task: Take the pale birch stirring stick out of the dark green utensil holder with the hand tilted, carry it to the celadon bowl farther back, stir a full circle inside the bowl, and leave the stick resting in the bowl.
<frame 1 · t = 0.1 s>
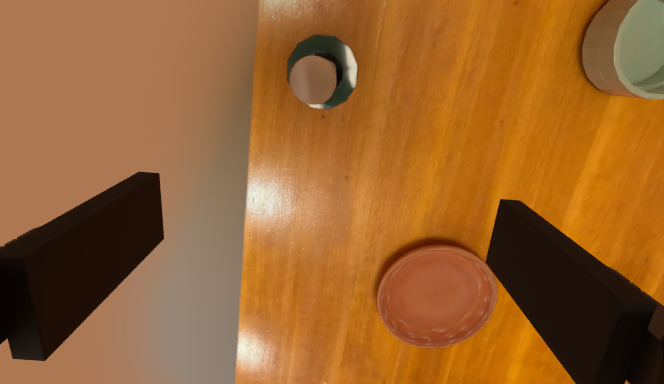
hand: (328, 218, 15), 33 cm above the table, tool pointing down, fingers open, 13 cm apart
saucer: (431, 287, 54), on the table
bowl: (628, 43, 43), on the table
stick: (324, 71, 44), point 1 cm above the table, touching holder
holder: (324, 71, 44), on the table
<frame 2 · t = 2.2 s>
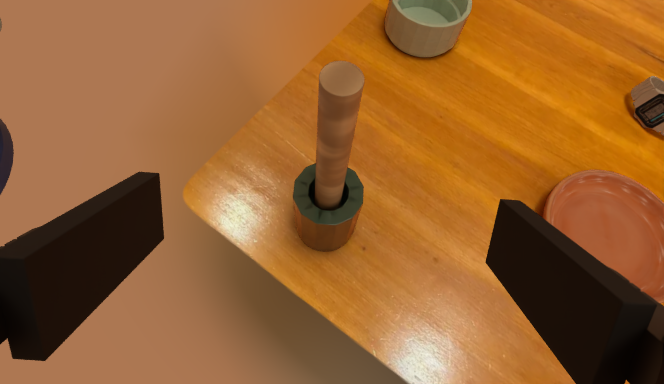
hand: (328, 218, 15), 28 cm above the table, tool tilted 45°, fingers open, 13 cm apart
saucer: (598, 240, 45), on the table
bowl: (420, 32, 58), on the table
wristwatch: (652, 116, 54), on the table
stick: (325, 222, 44), point 1 cm above the table, touching holder
holder: (324, 224, 44), on the table
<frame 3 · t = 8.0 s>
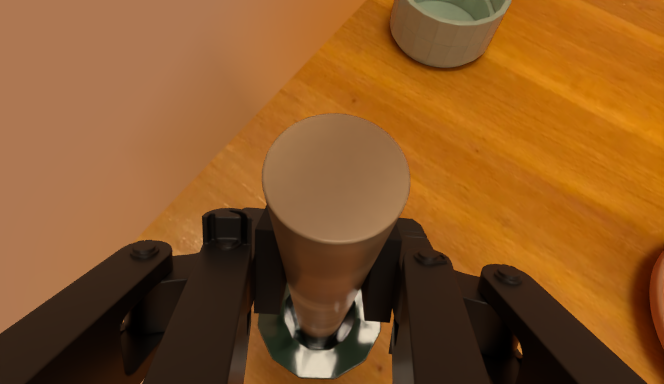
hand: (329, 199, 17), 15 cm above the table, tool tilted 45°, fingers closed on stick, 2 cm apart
bowl: (437, 34, 43), on the table
stick: (318, 328, 28), point 1 cm above the table, touching gripper
holder: (318, 329, 29), on the table
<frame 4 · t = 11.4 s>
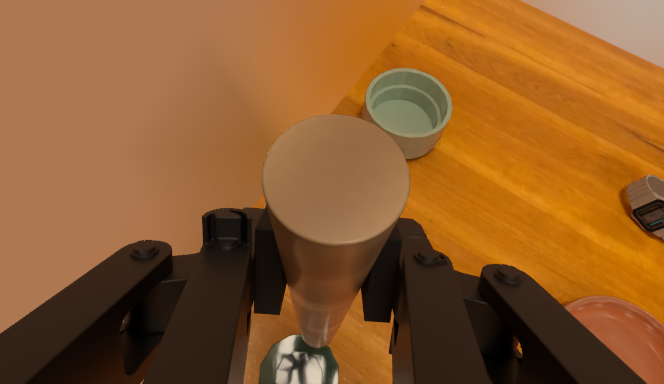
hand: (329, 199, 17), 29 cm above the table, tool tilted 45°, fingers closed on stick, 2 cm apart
saucer: (602, 375, 41), on the table
bowl: (399, 128, 54), on the table
wristwatch: (650, 214, 50), on the table
stick: (317, 329, 28), point 15 cm above the table, touching gripper
holder: (301, 376, 40), on the table
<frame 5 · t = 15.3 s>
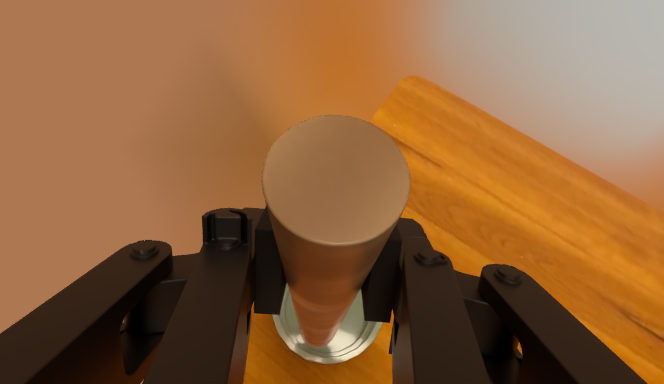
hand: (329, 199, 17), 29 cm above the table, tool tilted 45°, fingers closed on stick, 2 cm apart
bowl: (326, 310, 43), on the table
stick: (317, 329, 28), point 15 cm above the table, touching gripper
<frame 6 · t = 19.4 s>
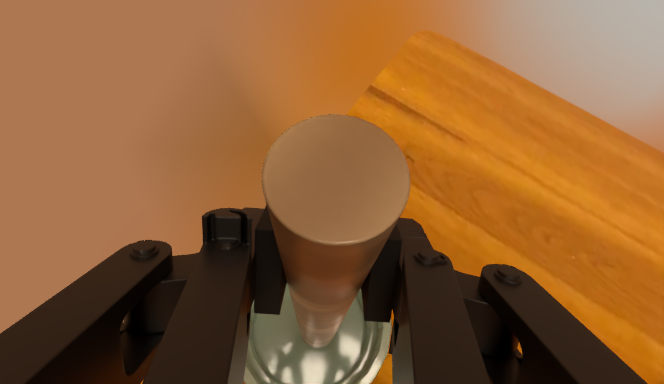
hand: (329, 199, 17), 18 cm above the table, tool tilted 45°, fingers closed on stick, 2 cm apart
bowl: (310, 328, 31), on the table
stick: (317, 329, 28), point 3 cm above the table, touching gripper
when the fingers open (15 cm above the table, at t = 22.6 s): stick stays where it is, resting on bowl.
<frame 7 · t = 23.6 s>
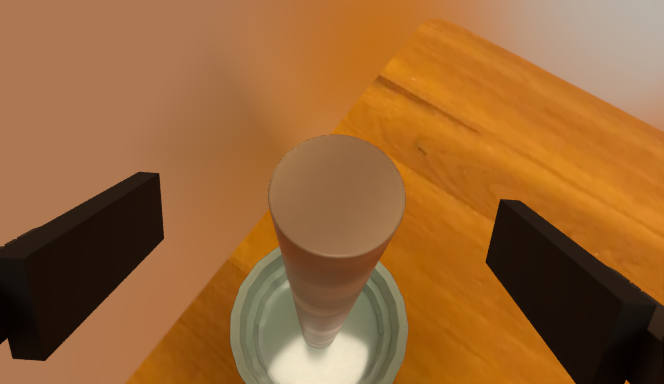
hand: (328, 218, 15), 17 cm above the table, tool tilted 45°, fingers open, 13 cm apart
bowl: (318, 330, 29), on the table
stick: (319, 330, 29), point 1 cm above the table, touching bowl
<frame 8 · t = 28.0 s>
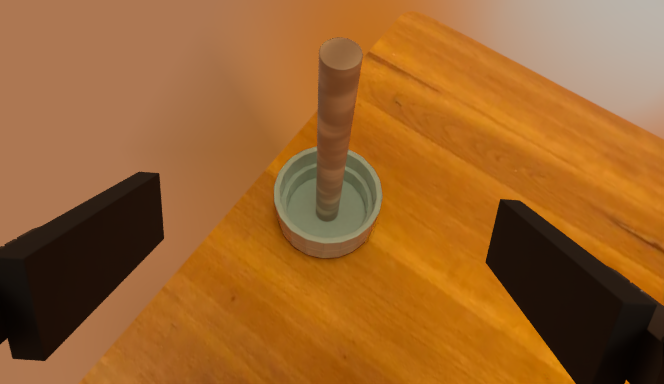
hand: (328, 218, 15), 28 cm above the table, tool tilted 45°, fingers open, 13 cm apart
bowl: (326, 213, 45), on the table
stick: (327, 211, 44), point 1 cm above the table, touching bowl
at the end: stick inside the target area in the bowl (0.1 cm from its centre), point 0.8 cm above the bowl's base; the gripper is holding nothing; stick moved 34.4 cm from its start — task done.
